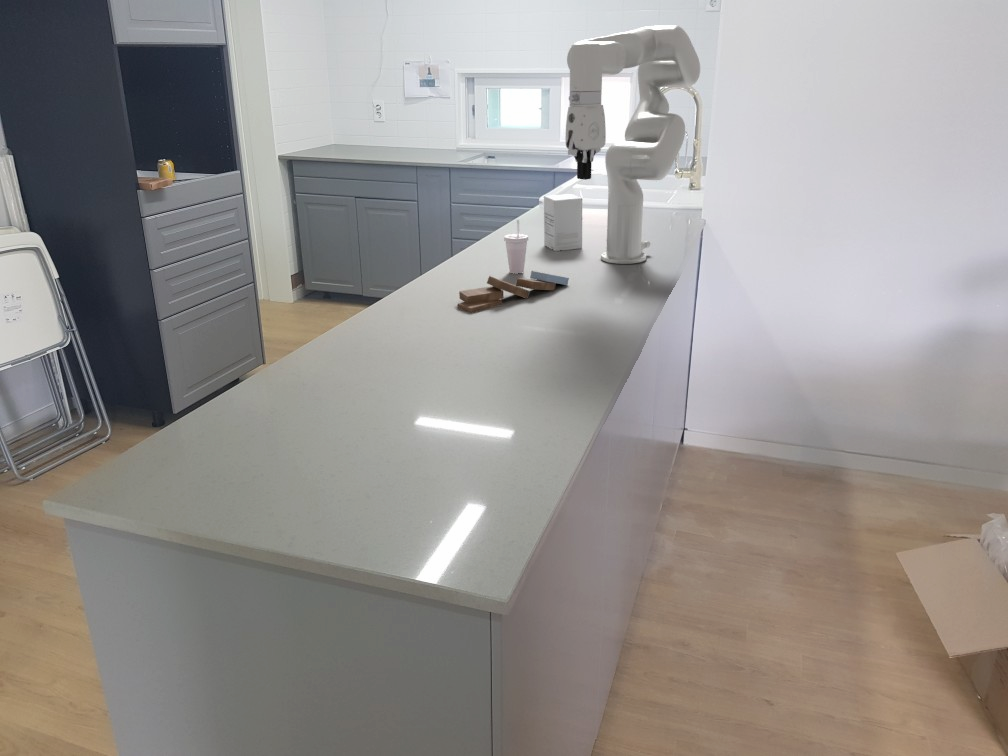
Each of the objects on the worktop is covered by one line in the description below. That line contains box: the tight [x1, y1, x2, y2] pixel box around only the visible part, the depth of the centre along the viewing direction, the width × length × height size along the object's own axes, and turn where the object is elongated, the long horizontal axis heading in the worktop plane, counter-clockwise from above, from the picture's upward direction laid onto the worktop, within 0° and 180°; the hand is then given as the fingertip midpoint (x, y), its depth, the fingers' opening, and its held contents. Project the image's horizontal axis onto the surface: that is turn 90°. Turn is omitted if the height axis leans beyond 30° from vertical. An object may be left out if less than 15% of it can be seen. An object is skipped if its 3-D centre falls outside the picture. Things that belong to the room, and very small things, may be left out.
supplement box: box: [543, 193, 583, 252], centre depth 232 cm, size 9×9×15 cm
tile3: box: [486, 275, 531, 300], centre depth 184 cm, size 2×5×9 cm
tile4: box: [458, 285, 505, 304], centre depth 182 cm, size 2×5×9 cm
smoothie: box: [503, 219, 529, 275], centre depth 205 cm, size 6×6×14 cm
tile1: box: [529, 270, 570, 286], centre depth 193 cm, size 2×5×9 cm
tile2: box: [515, 277, 557, 291], centre depth 189 cm, size 2×5×9 cm
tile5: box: [457, 299, 503, 314], centre depth 180 cm, size 2×5×9 cm
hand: (584, 178), depth 191 cm, fingers closed
